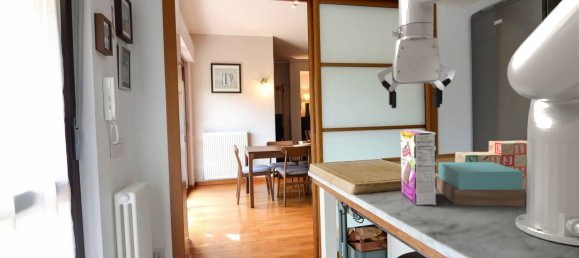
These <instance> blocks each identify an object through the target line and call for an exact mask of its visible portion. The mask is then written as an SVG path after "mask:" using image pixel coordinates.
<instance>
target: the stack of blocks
mask: <svg viewBox="0 0 579 258" xmlns="http://www.w3.org/2000/svg"><path fill="white" fill-rule="evenodd" d="M454 156H455V159H454V160H455V161H454V162H493V163H497V164H500V165H503V166H506V167H510V168H513V169H516V170H519V171H523V190H527V140H522V139H521V140H517V139H516V140H488V151H457V152H455V154H454Z"/></svg>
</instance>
